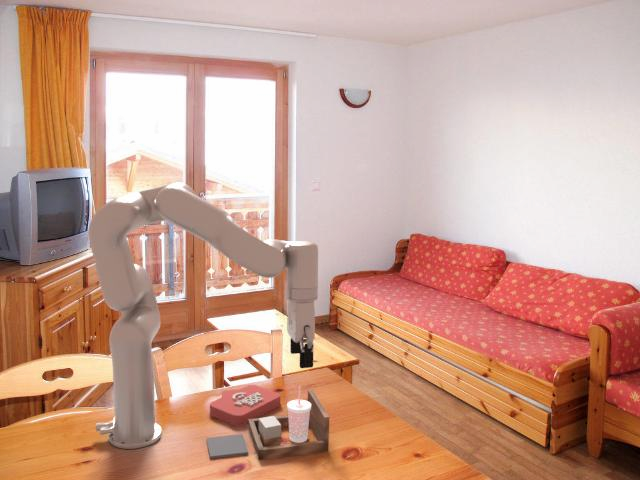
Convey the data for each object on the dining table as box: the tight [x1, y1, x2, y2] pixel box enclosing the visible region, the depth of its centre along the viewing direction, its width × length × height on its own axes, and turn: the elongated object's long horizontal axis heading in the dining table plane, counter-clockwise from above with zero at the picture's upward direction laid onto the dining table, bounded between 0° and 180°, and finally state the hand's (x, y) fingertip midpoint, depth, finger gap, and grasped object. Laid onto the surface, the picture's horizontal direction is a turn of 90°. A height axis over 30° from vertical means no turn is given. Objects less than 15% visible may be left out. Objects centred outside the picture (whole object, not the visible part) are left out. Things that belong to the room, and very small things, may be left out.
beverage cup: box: [286, 385, 311, 444], centre depth 152 cm, size 6×6×14 cm
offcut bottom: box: [259, 432, 282, 447], centre depth 150 cm, size 4×6×3 cm, turn 16°
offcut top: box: [258, 415, 282, 439], centre depth 149 cm, size 4×5×3 cm
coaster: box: [206, 433, 249, 460], centre depth 148 cm, size 9×9×1 cm
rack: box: [247, 389, 330, 461], centre depth 151 cm, size 17×16×9 cm
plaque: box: [209, 384, 281, 427], centre depth 169 cm, size 18×4×15 cm
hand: (301, 360), depth 149 cm, fingers open, 9 cm apart
